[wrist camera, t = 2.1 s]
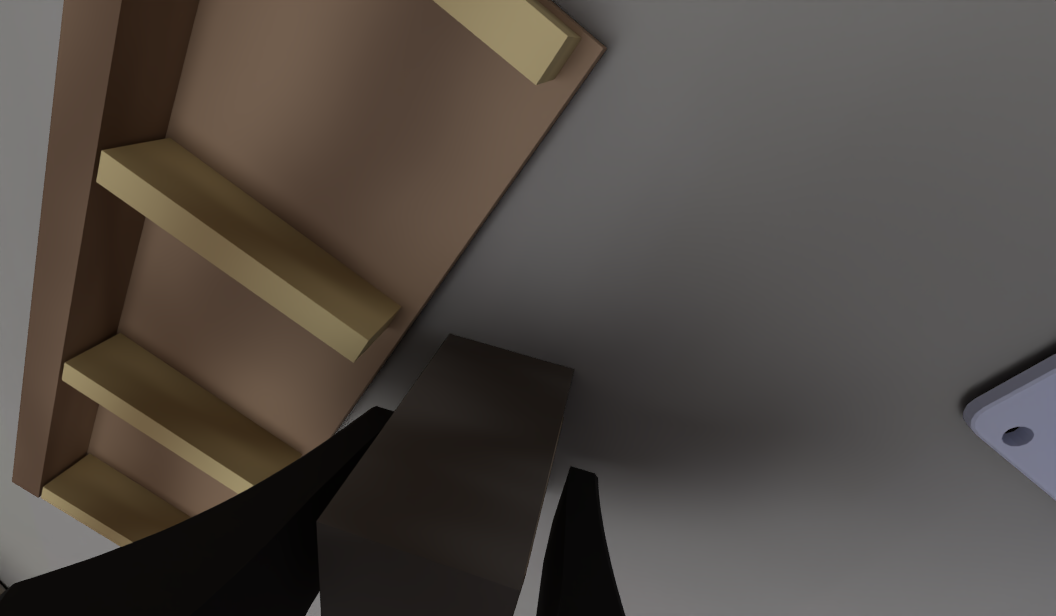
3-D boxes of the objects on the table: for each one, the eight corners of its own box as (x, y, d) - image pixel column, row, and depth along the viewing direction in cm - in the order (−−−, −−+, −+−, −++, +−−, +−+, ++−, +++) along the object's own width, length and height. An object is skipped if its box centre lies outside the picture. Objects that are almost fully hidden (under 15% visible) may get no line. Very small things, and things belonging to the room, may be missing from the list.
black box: (576, 369, 13) (523, 591, 7) (540, 493, 15) (481, 726, 10) (448, 332, 13) (313, 520, 8) (433, 458, 15) (321, 666, 10)
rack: (607, 48, 9) (594, 48, 7) (256, 545, 20) (210, 602, 18) (237, -269, 8) (96, -376, 6) (79, 433, 19) (9, 480, 17)
